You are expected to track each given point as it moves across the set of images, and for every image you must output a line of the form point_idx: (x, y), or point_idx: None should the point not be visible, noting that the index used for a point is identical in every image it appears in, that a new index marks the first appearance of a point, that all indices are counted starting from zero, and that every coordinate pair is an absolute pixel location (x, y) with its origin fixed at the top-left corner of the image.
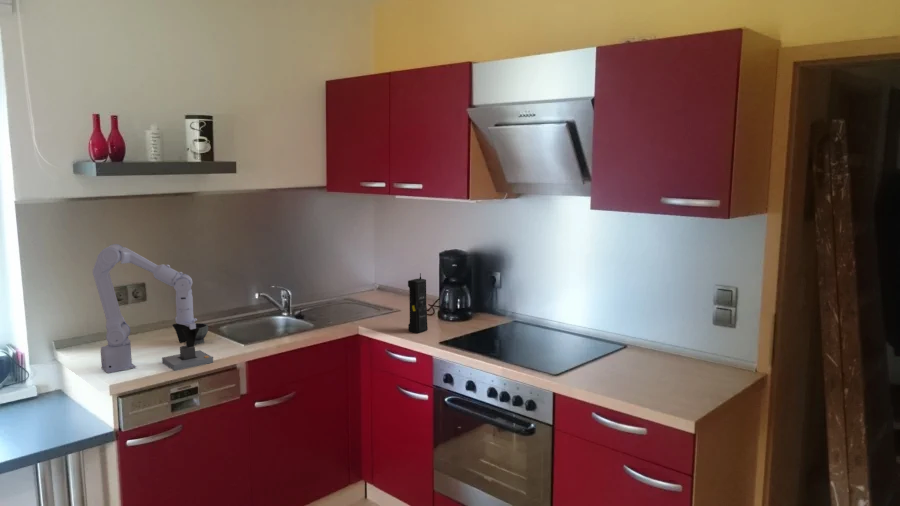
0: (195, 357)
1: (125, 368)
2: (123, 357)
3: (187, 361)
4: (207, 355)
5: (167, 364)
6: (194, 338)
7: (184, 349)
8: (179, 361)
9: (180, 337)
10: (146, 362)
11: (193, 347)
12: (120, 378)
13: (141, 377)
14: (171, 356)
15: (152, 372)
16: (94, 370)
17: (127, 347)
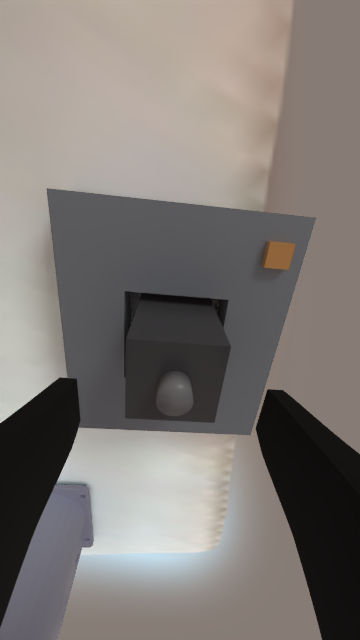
0: (214, 308)
1: (88, 513)
2: (69, 574)
3: (251, 373)
4: (241, 224)
5: None
6: (355, 463)
7: (213, 416)
8: None
9: (54, 466)
10: None
11: (228, 357)
12: (174, 531)
13: (217, 498)
14: (85, 391)
15: (192, 465)
16: None
17: (39, 630)
